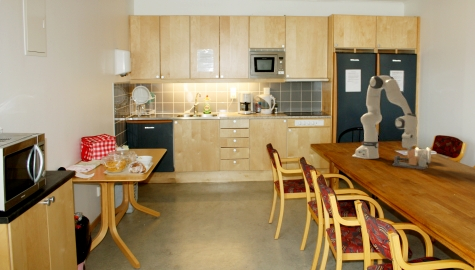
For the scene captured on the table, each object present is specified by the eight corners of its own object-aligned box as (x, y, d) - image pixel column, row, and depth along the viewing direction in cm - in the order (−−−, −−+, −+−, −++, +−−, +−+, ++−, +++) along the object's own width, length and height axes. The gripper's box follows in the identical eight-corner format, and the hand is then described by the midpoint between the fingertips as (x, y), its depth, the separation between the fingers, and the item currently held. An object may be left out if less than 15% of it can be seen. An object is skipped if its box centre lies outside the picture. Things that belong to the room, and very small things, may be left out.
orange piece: (406, 165, 344) (407, 151, 342) (413, 162, 352) (413, 148, 351) (414, 166, 340) (415, 151, 338) (420, 163, 348) (421, 149, 347)
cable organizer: (430, 164, 354) (431, 150, 352) (416, 164, 357) (417, 149, 355) (427, 160, 368) (428, 147, 367) (414, 160, 371) (414, 146, 370)
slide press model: (392, 165, 353) (392, 156, 352) (397, 163, 360) (398, 154, 359) (423, 169, 337) (423, 160, 336) (428, 167, 344) (428, 158, 343)
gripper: (411, 132, 355) (410, 149, 357) (400, 135, 340) (400, 153, 342) (419, 133, 351) (418, 150, 353) (409, 136, 336) (408, 154, 338)
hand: (409, 152), depth 347 cm, fingers closed
